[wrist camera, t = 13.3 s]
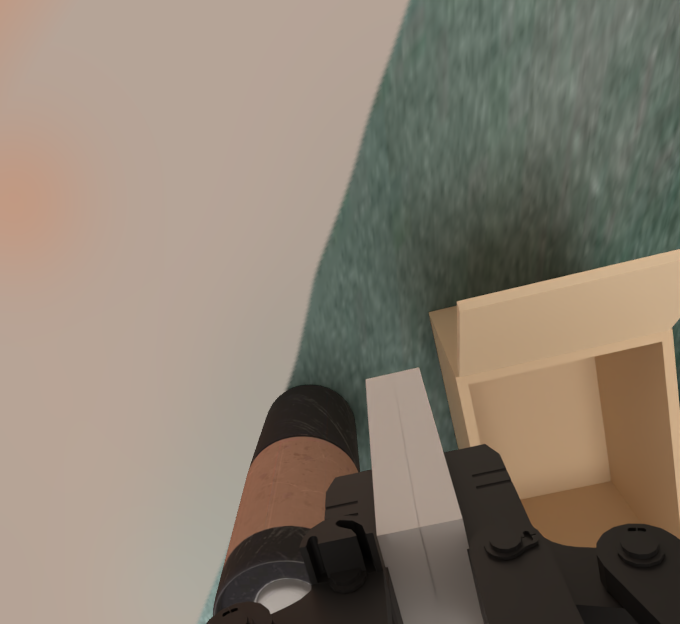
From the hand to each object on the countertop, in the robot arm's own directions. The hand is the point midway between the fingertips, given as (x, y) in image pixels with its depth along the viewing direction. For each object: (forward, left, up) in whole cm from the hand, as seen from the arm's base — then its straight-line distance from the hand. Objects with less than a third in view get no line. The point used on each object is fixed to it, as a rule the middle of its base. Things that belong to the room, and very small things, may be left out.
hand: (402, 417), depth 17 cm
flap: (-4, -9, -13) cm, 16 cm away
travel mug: (-14, +8, -29) cm, 33 cm away
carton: (-16, -9, -28) cm, 34 cm away
